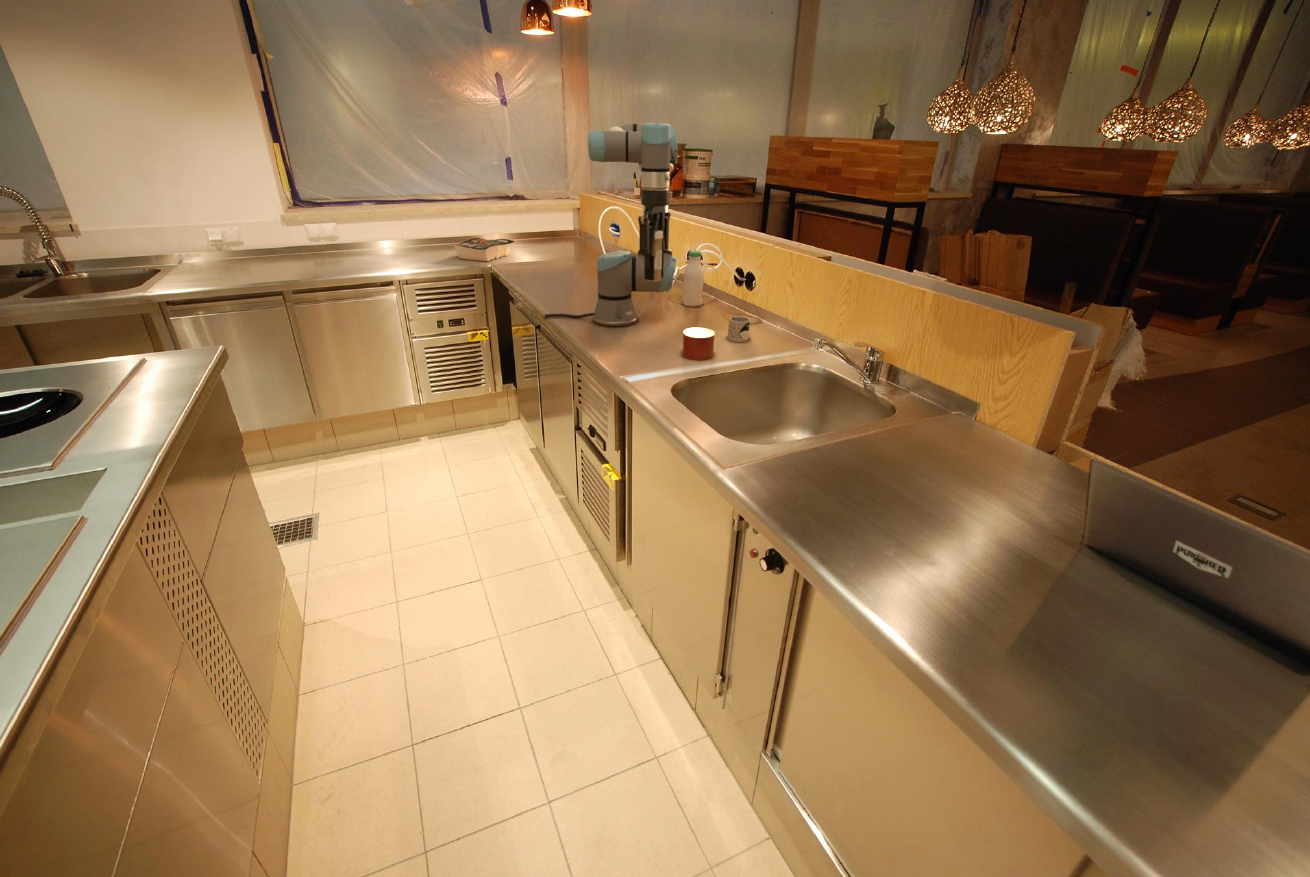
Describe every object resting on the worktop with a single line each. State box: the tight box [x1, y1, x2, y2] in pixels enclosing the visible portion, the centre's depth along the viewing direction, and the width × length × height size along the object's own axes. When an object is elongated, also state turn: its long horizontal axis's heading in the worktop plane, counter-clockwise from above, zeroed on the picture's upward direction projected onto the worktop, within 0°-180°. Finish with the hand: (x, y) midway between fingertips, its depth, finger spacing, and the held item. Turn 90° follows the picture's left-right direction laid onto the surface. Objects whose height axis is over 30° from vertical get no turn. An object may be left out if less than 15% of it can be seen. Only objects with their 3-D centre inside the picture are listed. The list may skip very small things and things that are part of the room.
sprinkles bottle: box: [647, 230, 663, 282], centre depth 160 cm, size 5×5×13 cm
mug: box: [727, 315, 751, 343], centre depth 187 cm, size 10×7×7 cm
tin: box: [682, 327, 716, 361], centre depth 172 cm, size 9×9×7 cm
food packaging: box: [447, 237, 516, 262], centre depth 294 cm, size 25×8×23 cm
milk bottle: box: [682, 250, 705, 307], centre depth 219 cm, size 8×8×20 cm
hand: (653, 277), depth 163 cm, fingers closed on sprinkles bottle, 4 cm apart
